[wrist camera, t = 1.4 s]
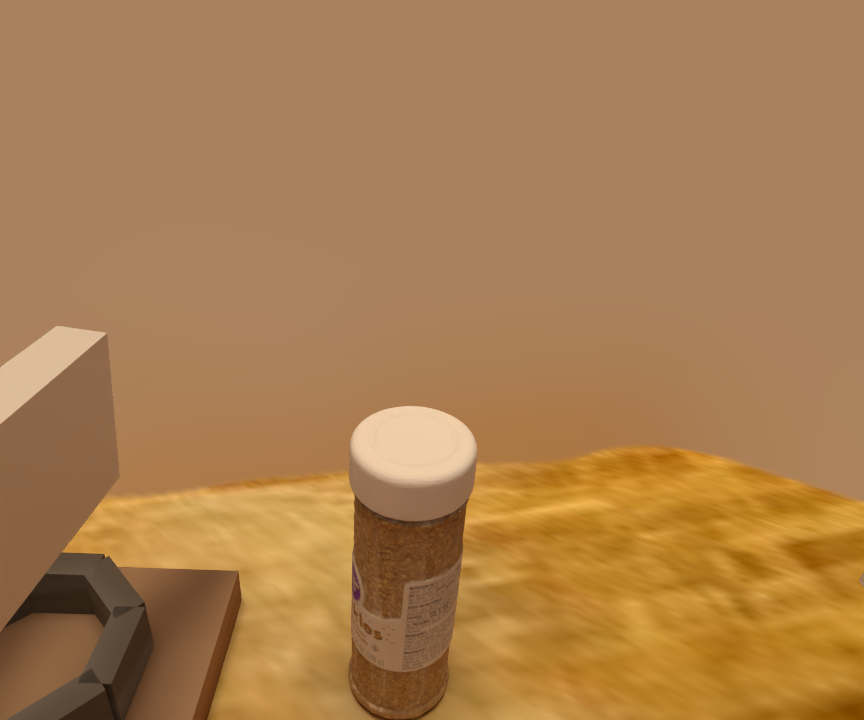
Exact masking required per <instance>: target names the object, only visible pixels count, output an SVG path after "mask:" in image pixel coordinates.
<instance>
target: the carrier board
mask: <svg viewBox="0 0 864 720" xmlns="http://www.w3.org/2000/svg"><path fill="white" fill-rule="evenodd" d="M241 600H242V599H241V590H240V581H239V573H238V571H221V570H191V569H162V568H132V567H117V566H116V565H115V563H114V562H113V561H112V559H111V558H110V557H109V556H108V557H106V558H105V556H104V554H87V553H61V554H60V555H59V556H58V558H57V559H56V560H55V562H54V563H53V564H52V566H51V567H50V568H49V569H48V571H47V572H46V573H45V575H44V576H43V577H42V579H41V580H40V581H39V582H38V584H37V585H36V586H35V588H34V589H33V590H32V592H31V593H30V594H29V596H28V597H27V598H26V599H25V601H24V602H23V603H22V605H21V606H20V607H19V609H18V610H17V611H16V612H15V614H14V615H13V616H12V618H11V619H10V620H9V622H8V623H7V624H6V625H5V627H4V628H3V629H2V631H1V632H0V720H207V717H208V714H209V710H210V707H211V703H212V700H213V696H214V693H215V689H216V686H217V683H218V679H219V676H220V672H221V669H222V665H223V662H224V658H225V655H226V652H227V648H228V645H229V641H230V638H231V634H232V631H233V627H234V624H235V620H236V617H237V614H238V610H239V607H240V603H241Z"/></svg>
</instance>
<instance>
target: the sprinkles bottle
mask: <svg viewBox="0 0 864 720" xmlns="http://www.w3.org/2000/svg"><path fill="white" fill-rule="evenodd" d="M476 461H477V445H476V441H475V439H474V436H473V434H472V433H471V431H470V430H469V429H468V428H467V427H466V426H465V425H464V424H463V423H462V422H461V421H459V420H458V419H456V418H455V417H453V416H451V415H449V414H447V413H444V412H442V411H438V410H435V409H431V408H426V407H419V406H403V407H395V408H390V409H385V410H382V411H379V412H377V413H375V414H373V415H371V416H369V417H367V418H366V419H364V420H363V421H362V422H361V423H360V424H359V425H358V426H357V428H356V429H355V431H354V433H353V435H352V437H351V441H350V453H349V481H350V485H351V488H352V491H353V492H354V495H355V501H354V507H355V514H354V548H353V553H352V609H351V633H352V657H351V660H350V664H349V680H350V686H351V689H352V691H353V692H354V694H355V697H356V698H357V700H358V701H359V702H360V703H361V704H362V705H363V706H364V707H365V708H367V709H368V710H369V711H370V712H372V713H373V714H375V715H380V716H382V717H384V718H387V719H396V720H398V719H409V718H415V717H418V716H420V715H422V714H423V713H425V712H426V711H428V710H430V709H431V708H432V707H434V706H435V705H436V704H437V703H438V702H439V700H440V699H441V697H442V695H443V694H444V693H445V689H446V685H447V681H448V663H447V661H448V652H449V644H450V641H451V638H452V633H453V626H454V619H455V611H456V603H457V595H458V587H459V578H460V570H461V561H462V553H463V531H464V523H465V514H466V504H467V502H468V500H469V496H470V494H471V492H472V490H473V486H474V480H475V472H476Z"/></svg>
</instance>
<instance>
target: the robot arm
mask: <svg viewBox="0 0 864 720" xmlns="http://www.w3.org/2000/svg"><path fill="white" fill-rule="evenodd" d="M110 373H111V372H110V361H109V349H108V339H107V333H103V332H96V331H89V330H83V329H75V328H68V327H62V326H56V327H55V328H54V329H52V330H51V331H50V332H48V333H47V334H45V335H44V336H43V337H41V338H40V339H39V340H37V341H36V342H34V343H33V344H32V345H30V346H29V347H28V348H27V349H25V350H23V351H22V352H21V353H19V354H18V355H17V356H15V357H14V358H13V359H11V360H10V361H8V362H7V363H6V364H4V365H3V366H2V367H0V632H1V631H2V629H3V628H4V627H5V625H6V624H7V623H8V622H9V620H10V619H11V618H12V616H13V615H14V614H15V612H16V611H17V610H18V609H19V607H20V606H21V605H22V603H23V602H24V601H25V599H26V598H27V597H28V596H29V594H30V593H31V592H32V590H33V589H34V588H35V586H36V585H37V584H38V582H39V581H40V580H41V579H42V577H43V576H44V575H45V573H46V572H47V571H48V569H49V568H50V567H51V566H52V564H53V563H54V562H55V560H56V559H57V558H58V556H59V555H60V554H61V553H62V551H63V550H64V549H65V547H66V546H67V545H68V543H69V542H70V541H71V540H72V538H73V537H74V536H75V534H76V533H77V532H78V530H79V529H80V528H81V526H82V525H83V524H84V523H85V521H86V520H87V519H88V517H89V516H90V515H91V513H92V512H93V511H94V510H95V508H96V507H97V506H98V504H99V503H100V502H101V500H102V499H103V498H104V497H105V495H106V494H107V493H108V491H109V490H110V489H111V487H112V486H113V485H114V484H115V482H116V481H117V480H118V478H119V465H118V455H117V443H116V431H115V420H114V407H113V396H112V384H111V374H110ZM859 582H860V583H861V584H862V586H863V587H864V572H863V574H862V576H861V578H860V579H859Z"/></svg>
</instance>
